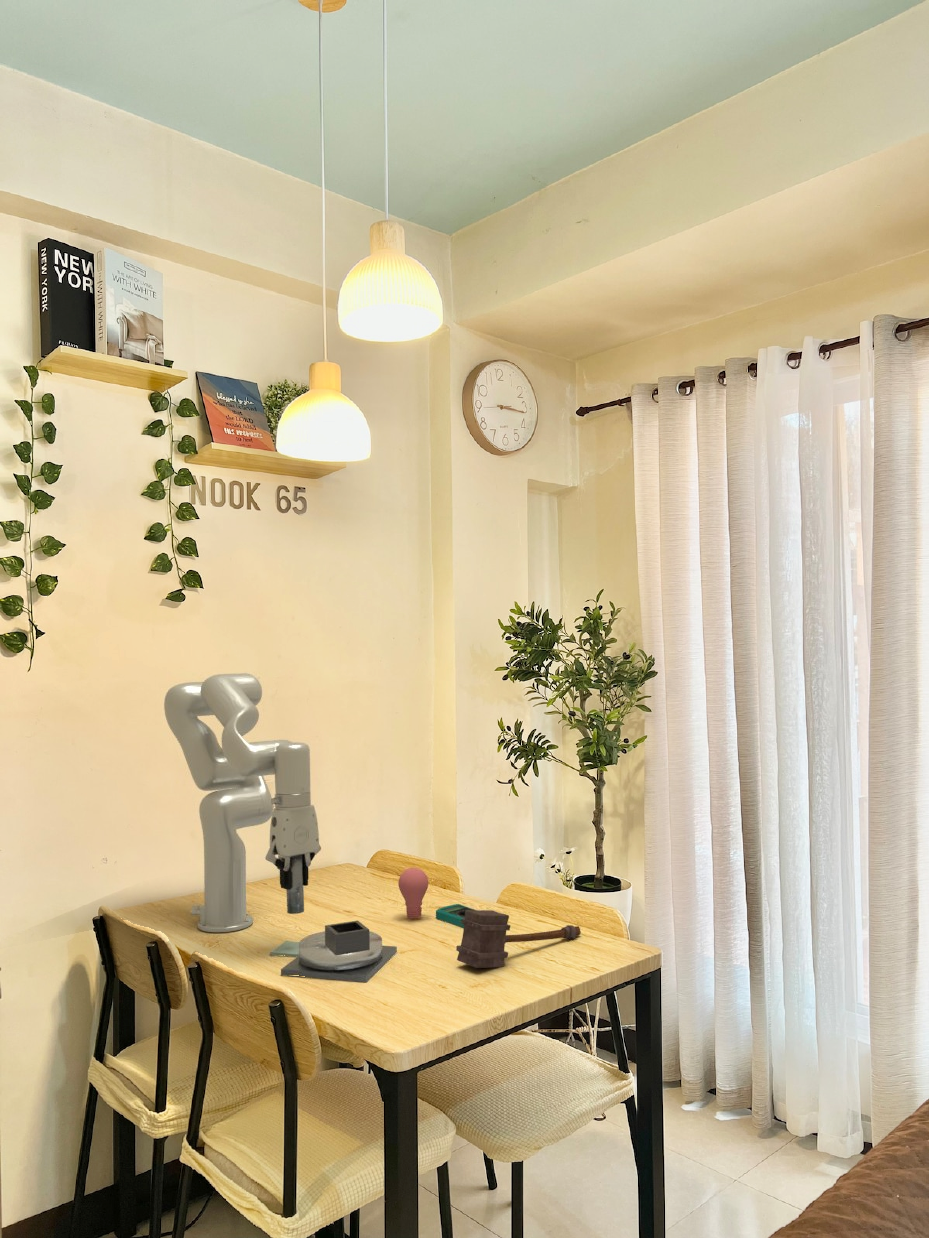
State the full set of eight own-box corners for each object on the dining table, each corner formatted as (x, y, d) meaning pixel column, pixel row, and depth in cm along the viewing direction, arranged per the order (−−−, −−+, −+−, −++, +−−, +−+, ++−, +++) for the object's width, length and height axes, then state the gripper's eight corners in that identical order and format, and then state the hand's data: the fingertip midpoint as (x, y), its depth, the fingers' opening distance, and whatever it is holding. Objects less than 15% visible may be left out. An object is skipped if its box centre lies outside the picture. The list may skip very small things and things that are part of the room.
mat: (269, 954, 194) (269, 952, 194) (285, 943, 201) (285, 940, 201) (303, 957, 192) (303, 954, 192) (317, 945, 199) (317, 943, 199)
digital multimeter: (474, 934, 207) (474, 921, 207) (434, 920, 218) (434, 907, 218) (499, 927, 212) (499, 915, 212) (458, 914, 223) (458, 901, 223)
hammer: (453, 959, 185) (460, 908, 186) (564, 955, 205) (569, 910, 207) (475, 968, 179) (482, 916, 181) (586, 963, 200) (592, 916, 202)
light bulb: (411, 924, 213) (410, 873, 214) (392, 918, 219) (392, 867, 219) (434, 918, 218) (434, 867, 218) (416, 912, 223) (415, 863, 224)
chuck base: (280, 975, 181) (280, 969, 181) (318, 946, 199) (318, 940, 199) (366, 982, 177) (366, 975, 177) (396, 952, 194) (396, 946, 194)
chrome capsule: (292, 914, 194) (290, 857, 194) (284, 911, 196) (282, 855, 197) (307, 911, 196) (305, 854, 197) (299, 908, 199) (297, 852, 199)
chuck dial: (312, 975, 176) (312, 939, 177) (289, 950, 192) (288, 917, 192) (394, 961, 184) (394, 926, 184) (365, 937, 199) (365, 906, 199)
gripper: (269, 807, 189) (271, 897, 188) (334, 797, 201) (336, 881, 200) (250, 803, 194) (251, 891, 193) (314, 794, 206) (315, 876, 205)
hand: (294, 885), depth 197 cm, fingers closed on chrome capsule, 3 cm apart
